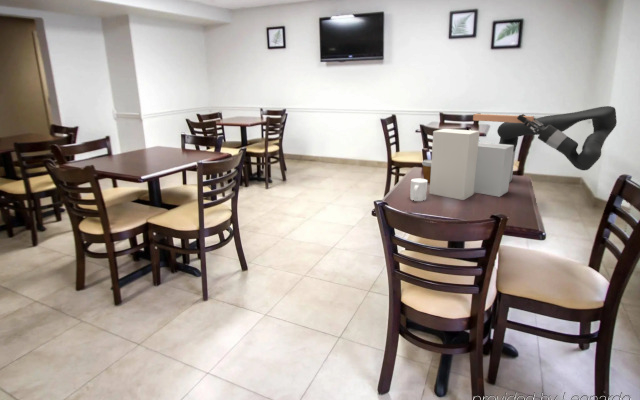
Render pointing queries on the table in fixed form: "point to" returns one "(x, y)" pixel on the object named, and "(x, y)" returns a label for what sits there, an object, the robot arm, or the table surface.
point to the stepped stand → (468, 165)
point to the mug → (418, 189)
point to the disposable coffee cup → (427, 170)
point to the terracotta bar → (499, 118)
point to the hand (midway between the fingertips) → (519, 116)
